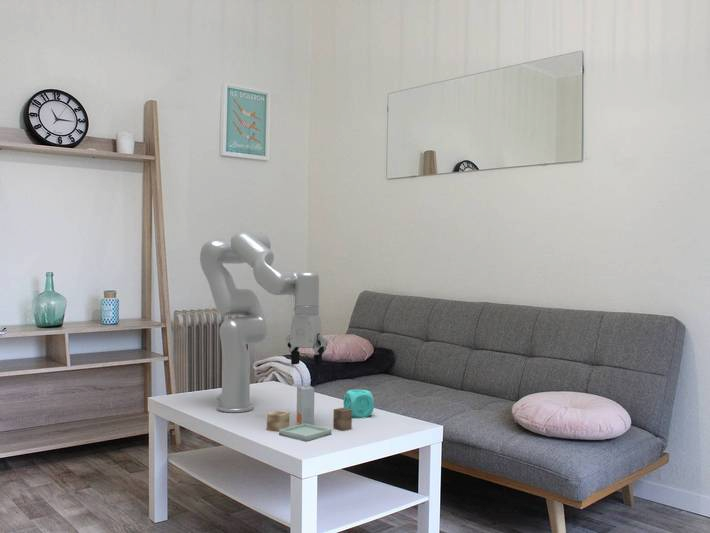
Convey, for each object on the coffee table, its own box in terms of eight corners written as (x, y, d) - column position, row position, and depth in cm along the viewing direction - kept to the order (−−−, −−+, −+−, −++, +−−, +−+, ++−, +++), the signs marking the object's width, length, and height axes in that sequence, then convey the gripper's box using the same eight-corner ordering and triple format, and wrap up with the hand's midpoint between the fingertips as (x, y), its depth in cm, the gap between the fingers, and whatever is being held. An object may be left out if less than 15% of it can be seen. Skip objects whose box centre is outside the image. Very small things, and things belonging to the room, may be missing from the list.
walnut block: (333, 428, 208) (333, 409, 208) (343, 426, 211) (343, 407, 211) (341, 431, 205) (341, 411, 205) (351, 429, 208) (351, 409, 208)
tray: (279, 434, 199) (279, 429, 199) (304, 428, 208) (304, 423, 208) (306, 441, 192) (306, 436, 192) (331, 434, 201) (331, 429, 201)
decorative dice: (364, 412, 232) (364, 388, 232) (374, 417, 225) (374, 393, 225) (343, 413, 229) (343, 390, 229) (351, 418, 222) (352, 394, 222)
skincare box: (296, 422, 214) (296, 385, 214) (308, 422, 216) (309, 384, 216) (301, 427, 209) (302, 388, 209) (314, 426, 210) (315, 388, 210)
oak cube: (266, 430, 204) (266, 414, 204) (275, 426, 209) (275, 410, 209) (280, 432, 202) (281, 415, 202) (289, 428, 207) (289, 412, 207)
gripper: (278, 310, 215) (278, 364, 215) (319, 313, 204) (318, 369, 204) (295, 309, 220) (294, 361, 220) (335, 312, 210) (334, 367, 210)
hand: (306, 365), depth 212 cm, fingers open, 9 cm apart
